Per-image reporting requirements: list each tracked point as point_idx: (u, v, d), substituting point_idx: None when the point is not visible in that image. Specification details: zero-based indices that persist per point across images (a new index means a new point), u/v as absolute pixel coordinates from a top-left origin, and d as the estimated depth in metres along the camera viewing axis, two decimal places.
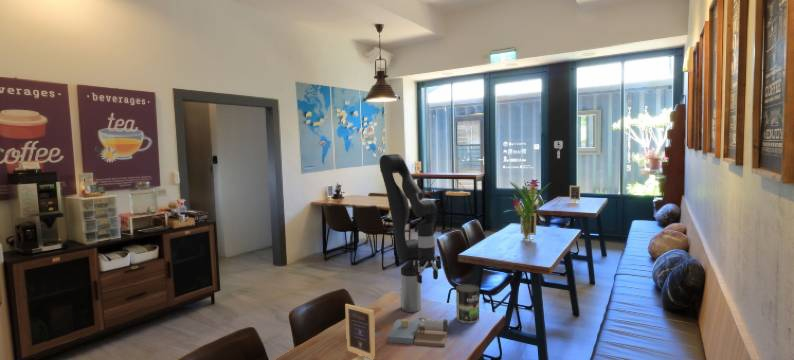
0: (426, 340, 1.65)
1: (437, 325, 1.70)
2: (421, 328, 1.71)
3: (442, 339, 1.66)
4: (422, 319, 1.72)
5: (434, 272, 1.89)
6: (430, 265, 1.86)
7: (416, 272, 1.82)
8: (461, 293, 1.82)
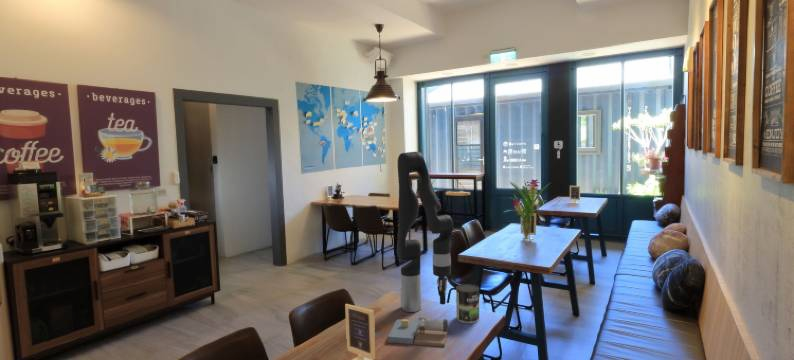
0: (426, 340, 1.65)
1: (437, 325, 1.70)
2: (421, 328, 1.71)
3: (442, 339, 1.66)
4: (422, 319, 1.72)
5: None
6: None
7: None
8: (461, 293, 1.82)
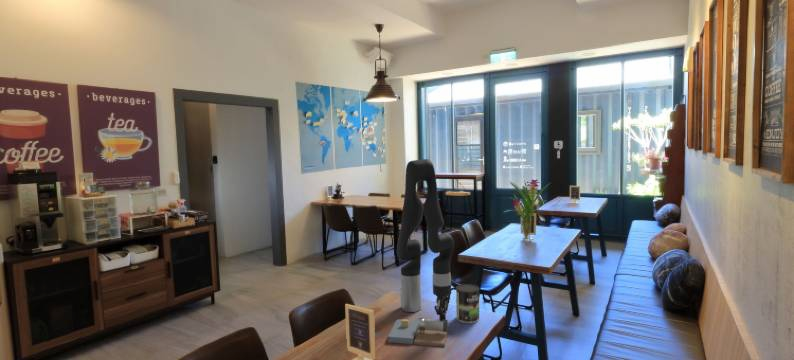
0: (426, 340, 1.65)
1: (437, 325, 1.70)
2: (421, 328, 1.71)
3: (442, 339, 1.66)
4: (422, 319, 1.72)
5: None
6: None
7: None
8: (461, 293, 1.82)
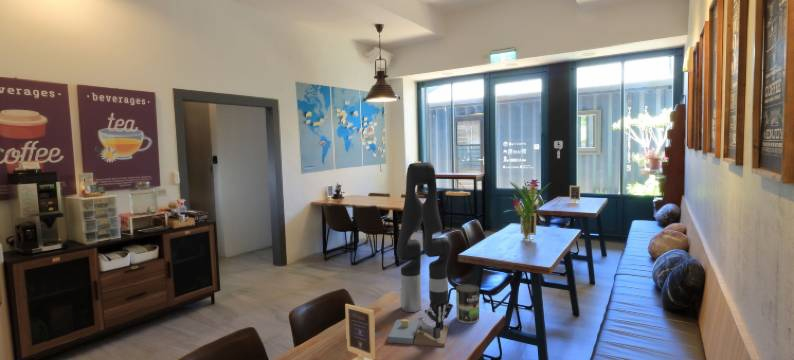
0: (426, 340, 1.65)
1: (429, 329, 1.66)
2: (419, 327, 1.71)
3: (442, 339, 1.66)
4: (422, 319, 1.72)
5: None
6: None
7: None
8: (461, 293, 1.82)
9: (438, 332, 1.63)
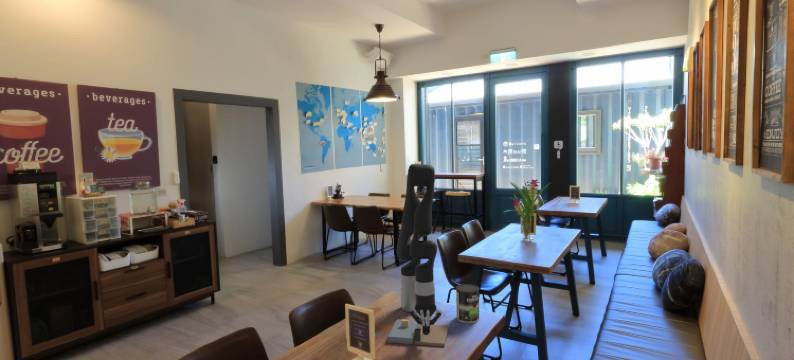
0: (426, 340, 1.65)
1: None
2: None
3: (442, 339, 1.66)
4: None
5: None
6: None
7: None
8: (461, 293, 1.82)
9: (417, 335, 1.62)
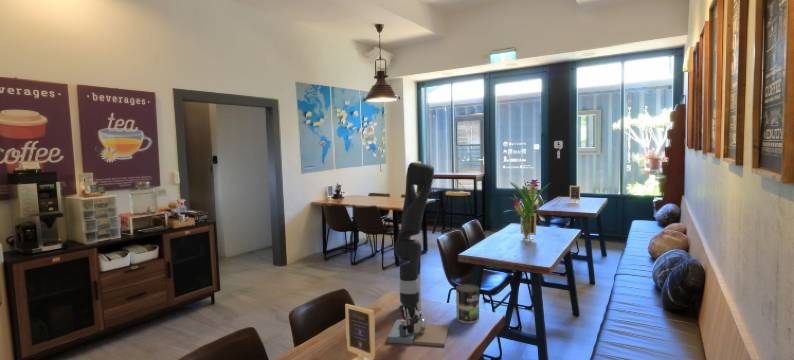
0: (426, 340, 1.65)
1: None
2: None
3: (442, 339, 1.66)
4: (421, 319, 1.72)
5: None
6: None
7: None
8: (461, 293, 1.82)
9: (401, 330, 1.66)
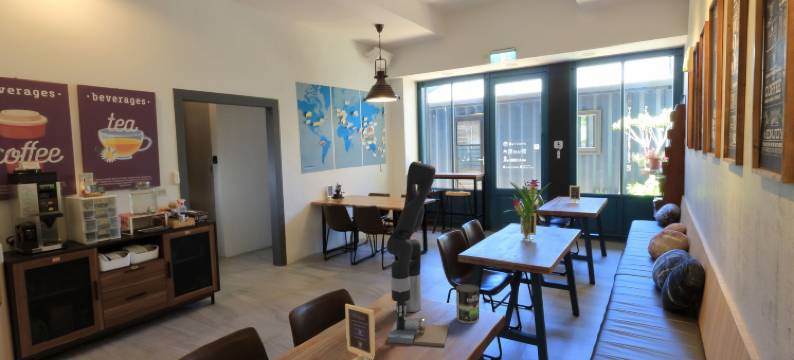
0: (426, 340, 1.65)
1: None
2: None
3: (442, 339, 1.66)
4: (421, 319, 1.72)
5: None
6: None
7: (404, 319, 1.65)
8: (461, 293, 1.82)
9: None
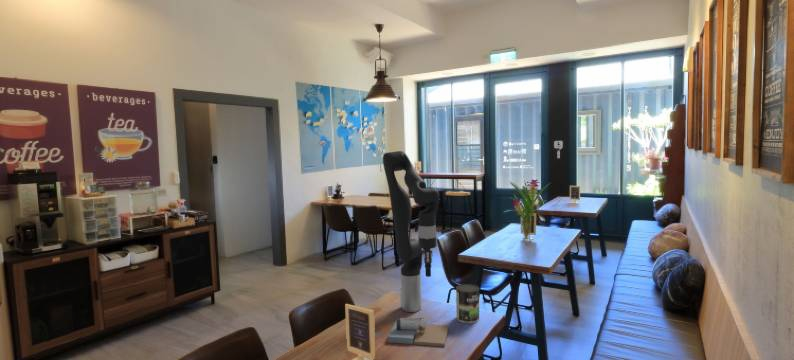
0: (426, 340, 1.65)
1: None
2: None
3: (442, 339, 1.66)
4: (421, 319, 1.72)
5: None
6: None
7: (430, 265, 1.73)
8: (461, 293, 1.82)
9: None
